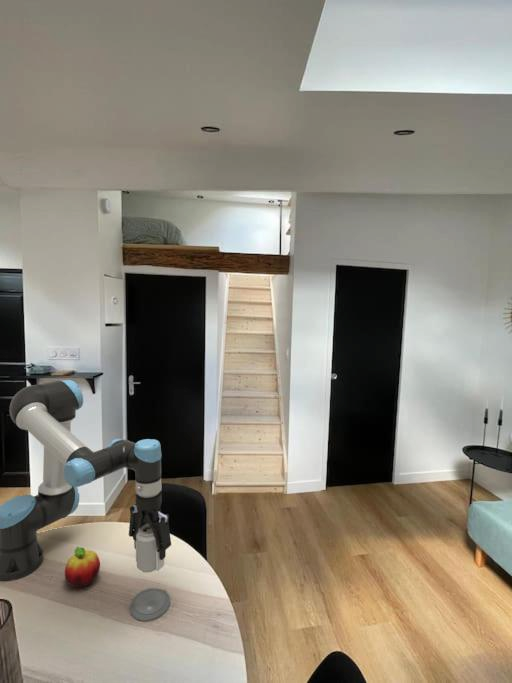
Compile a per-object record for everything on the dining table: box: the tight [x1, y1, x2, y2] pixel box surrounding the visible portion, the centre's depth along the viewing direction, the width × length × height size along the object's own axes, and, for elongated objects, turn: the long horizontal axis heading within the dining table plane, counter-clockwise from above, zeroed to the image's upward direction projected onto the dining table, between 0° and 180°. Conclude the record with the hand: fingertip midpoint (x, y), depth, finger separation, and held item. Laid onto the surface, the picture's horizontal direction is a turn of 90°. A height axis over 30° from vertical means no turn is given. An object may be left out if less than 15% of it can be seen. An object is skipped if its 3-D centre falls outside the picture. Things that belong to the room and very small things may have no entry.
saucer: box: [129, 587, 171, 622], centre depth 117 cm, size 12×12×1 cm
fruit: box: [64, 546, 101, 588], centre depth 126 cm, size 11×11×10 cm
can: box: [135, 523, 158, 573], centre depth 115 cm, size 8×8×12 cm
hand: (149, 563), depth 115 cm, fingers closed on can, 7 cm apart
